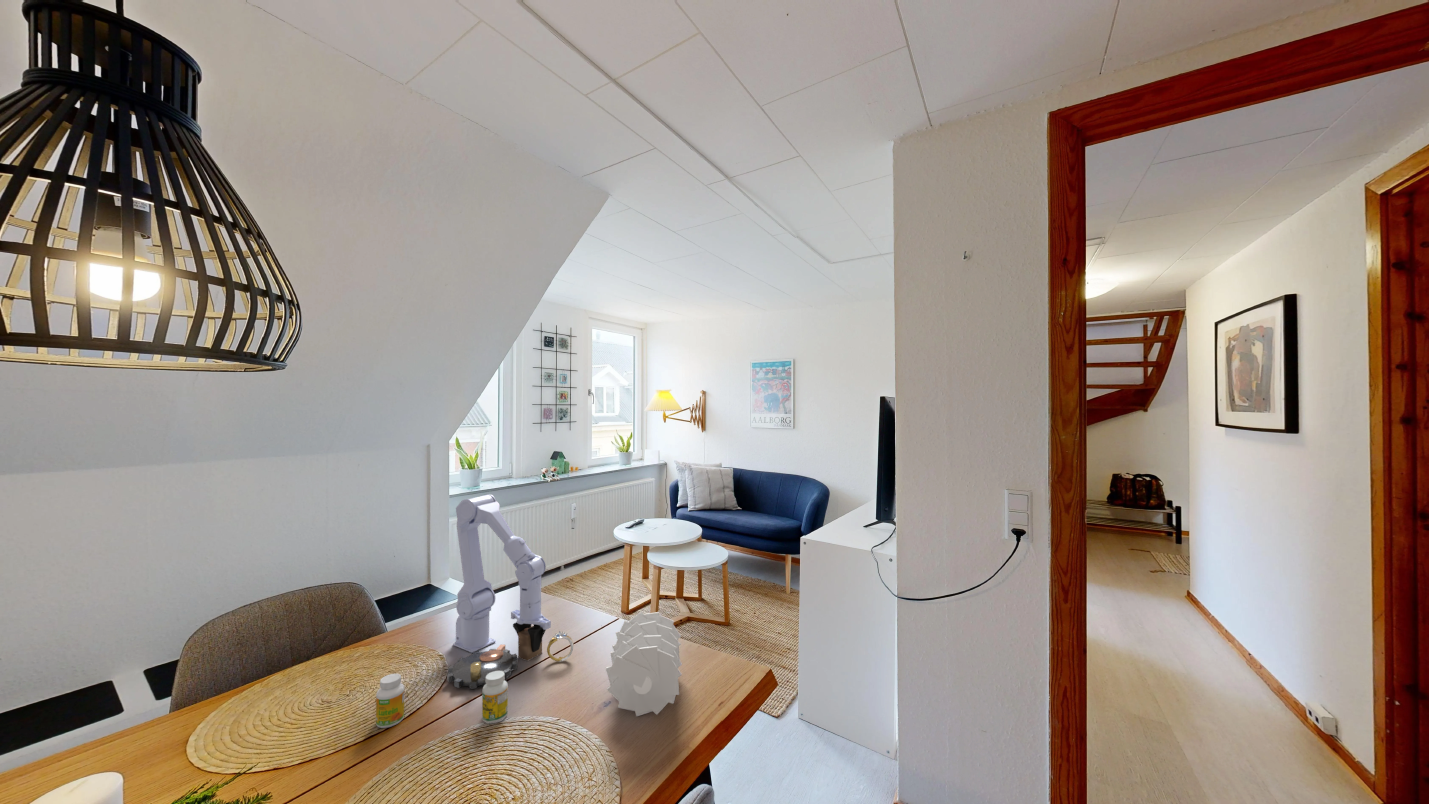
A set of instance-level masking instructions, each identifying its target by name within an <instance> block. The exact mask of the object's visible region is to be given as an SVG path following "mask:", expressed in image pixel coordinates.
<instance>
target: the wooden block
mask: <svg viewBox="0 0 1429 804" xmlns="http://www.w3.org/2000/svg"><path fill="white" fill-rule="evenodd" d="M531 627H534V625H531ZM531 627H529V628H531ZM529 628H525V629H524V630H523V631H521V632H518V635H517V636H518V639H517V640H518V641H517V644H518V645H517V651H518V652H517V658H519V659H522V660H524V661H527V662H529V661H531V660H533V659H534V658H536V657H537V656H540V655H542V654H543V640H542V641H541V644H540V648H539V650H537V651H535V652H532V649H531V639H530V635H529V633H528V631H527V629H529Z"/></svg>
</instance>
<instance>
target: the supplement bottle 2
mask: <svg viewBox="0 0 1429 804" xmlns="http://www.w3.org/2000/svg"><path fill="white" fill-rule="evenodd" d="M505 679H506V678H505V674H504V672H503V671H494V672H491V673H489V674H487V675H486V679H485V682H486V684H485V685H483V687H482V691H481V692H482V693H481V696H482V700H481V704H482V707H481V709H482V710H481V711H482V713H481V717H482V718H481V719H482V721H483V722H484V723H485V724H497V723H500V722H501V721H503V720H504V719H506V717H507V715H508V712H509V711H508V710H509V709H508V707H509V700H508V699H509V698H508V697H509V695H508V694H509V686H508V685H509V684H508V682H507V680H505Z"/></svg>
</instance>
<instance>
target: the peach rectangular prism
mask: <svg viewBox="0 0 1429 804" xmlns="http://www.w3.org/2000/svg"><path fill="white" fill-rule="evenodd" d="M495 649H496V650H501V651H503V650H505V649H506V644H499V646H498V647H497V648H495Z"/></svg>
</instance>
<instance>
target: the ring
mask: <svg viewBox="0 0 1429 804" xmlns="http://www.w3.org/2000/svg"><path fill="white" fill-rule="evenodd" d="M554 634H555V635H552V637H551V638H550V640H548V641H549V642H548V643H547V647H546V652H547V656H548V657H549V658H550V659H551V660H553V661H554V662H559V663H561V662H563V661H566V660H568V659H569V658H570V657H571V656H572V653H573V650H574V646H575V645H574V641H573V639H572V638H571V636H569V635H568V633H567V632H565V631H562V632H561V631H560V630H559V631H558V633H554ZM558 640H567V641H568V643H569V644H570V650H569V652H568V653H567V655H565V656H559V657H556V656H554V655H553V654H552V652H551V646H552V645H553V644H554V643H556V642H558Z"/></svg>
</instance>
